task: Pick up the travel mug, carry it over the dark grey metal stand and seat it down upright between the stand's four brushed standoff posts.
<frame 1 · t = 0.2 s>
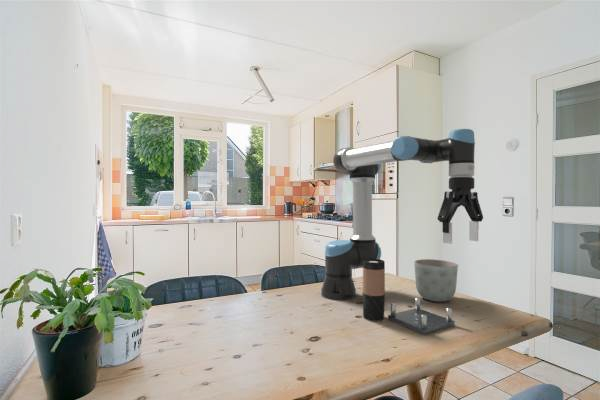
hand: (461, 242, 105), 28 cm above the table, fingers open, 13 cm apart
planter: (435, 299, 135), on the table
travel mug: (373, 317, 113), on the table
stand: (420, 322, 108), on the table
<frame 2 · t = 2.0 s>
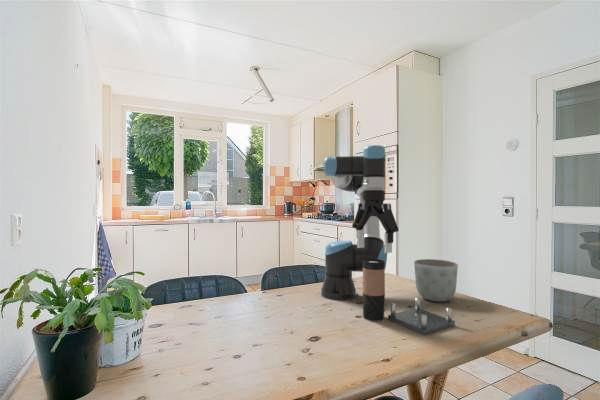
hand: (373, 250, 113), 24 cm above the table, fingers open, 13 cm apart
nothing on the table moved.
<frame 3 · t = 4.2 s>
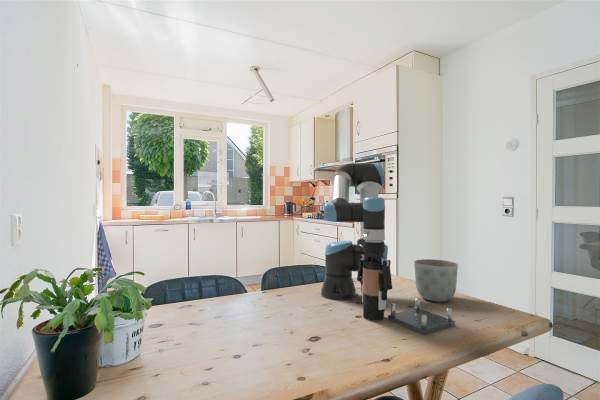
hand: (373, 305, 113), 4 cm above the table, fingers closed on travel mug, 8 cm apart
travel mug: (373, 317, 113), on the table, touching gripper
everything else where it was.
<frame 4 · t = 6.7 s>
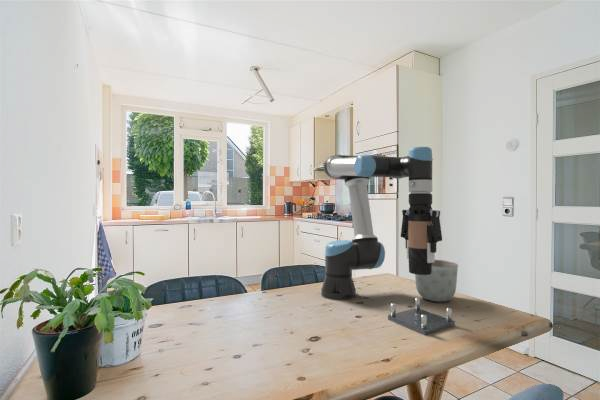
hand: (420, 260, 108), 21 cm above the table, fingers closed on travel mug, 8 cm apart
travel mug: (420, 273, 108), point 17 cm above the table, touching gripper
everything else where it was.
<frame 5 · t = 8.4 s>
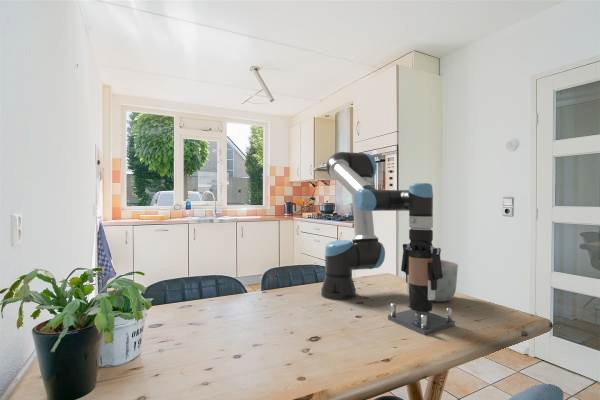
hand: (420, 296, 108), 9 cm above the table, fingers closed on travel mug, 8 cm apart
travel mug: (420, 309, 108), point 5 cm above the table, touching gripper
everything else where it was.
when the fingers open (7 cm above the table, at t = 9.1 s): travel mug drops 1 cm, resting on stand.
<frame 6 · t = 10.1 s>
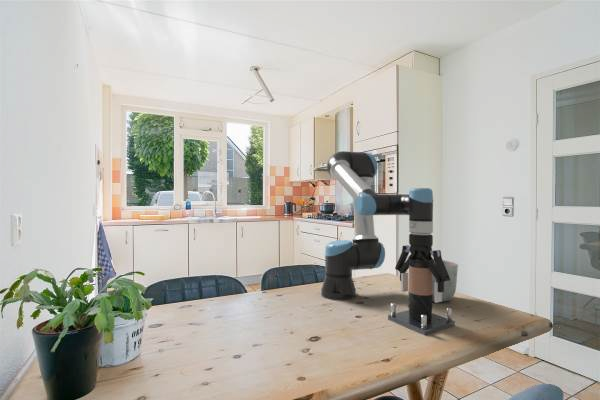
hand: (420, 296, 108), 9 cm above the table, fingers open, 13 cm apart
travel mug: (420, 318, 108), point 1 cm above the table, touching stand
everything else where it was.
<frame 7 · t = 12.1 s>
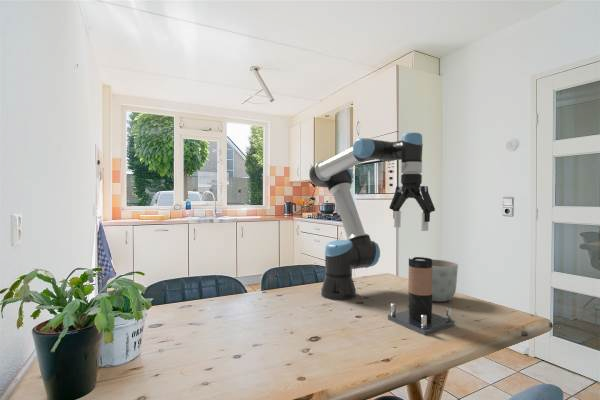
hand: (410, 229, 123), 30 cm above the table, fingers open, 13 cm apart
nothing on the table moved.
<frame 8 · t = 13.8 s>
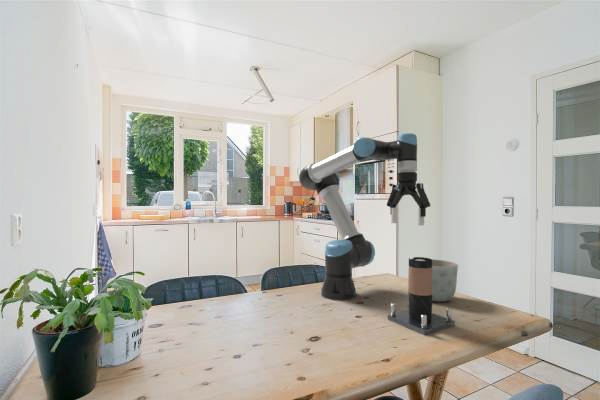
hand: (407, 224, 130), 32 cm above the table, fingers open, 13 cm apart
nothing on the table moved.
at the end: travel mug 0.1 cm off-centre on the stand, point 1.3 cm above the stand's base; travel mug tilted 0°; the gripper is holding nothing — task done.
